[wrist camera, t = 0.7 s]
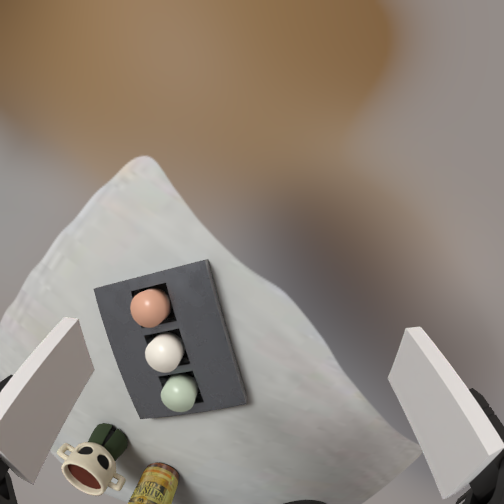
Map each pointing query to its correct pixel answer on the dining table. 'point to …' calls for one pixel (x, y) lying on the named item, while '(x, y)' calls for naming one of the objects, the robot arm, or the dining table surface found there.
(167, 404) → the sage button
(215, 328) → the panel
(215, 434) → the dining table surface
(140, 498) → the sauce bottle
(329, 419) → the dining table surface
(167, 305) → the terracotta button
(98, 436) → the character mug
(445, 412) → the robot arm
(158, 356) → the cream button
